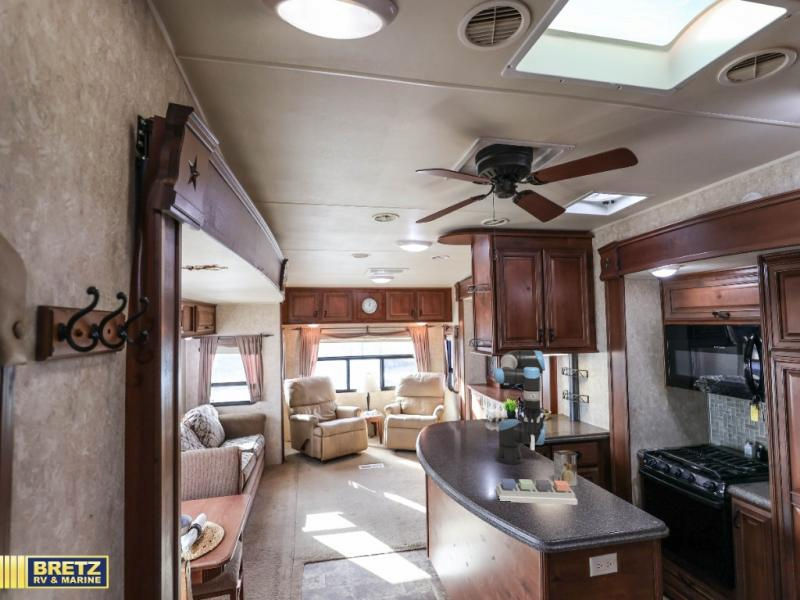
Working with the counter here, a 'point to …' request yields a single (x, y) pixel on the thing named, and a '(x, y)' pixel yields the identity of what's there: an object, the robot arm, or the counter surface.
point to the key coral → (561, 486)
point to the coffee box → (565, 467)
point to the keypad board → (536, 495)
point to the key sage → (526, 484)
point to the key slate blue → (509, 483)
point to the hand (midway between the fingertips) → (532, 449)
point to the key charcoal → (543, 485)
